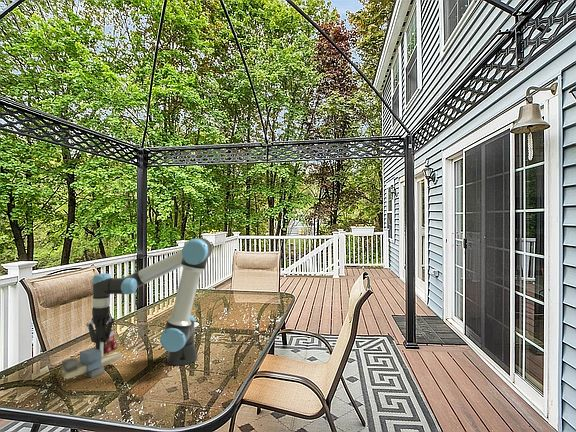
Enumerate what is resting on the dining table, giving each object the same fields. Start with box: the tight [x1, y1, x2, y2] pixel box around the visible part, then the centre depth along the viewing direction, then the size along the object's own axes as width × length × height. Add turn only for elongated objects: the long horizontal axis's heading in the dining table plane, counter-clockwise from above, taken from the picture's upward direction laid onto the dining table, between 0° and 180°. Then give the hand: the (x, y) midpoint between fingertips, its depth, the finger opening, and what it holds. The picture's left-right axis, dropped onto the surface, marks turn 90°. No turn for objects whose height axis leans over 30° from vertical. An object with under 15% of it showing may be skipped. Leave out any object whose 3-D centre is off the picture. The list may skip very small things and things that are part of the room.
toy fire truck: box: [103, 329, 118, 354], centre depth 196 cm, size 7×12×10 cm, turn 172°
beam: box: [61, 351, 123, 380], centre depth 166 cm, size 7×26×10 cm, turn 149°
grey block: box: [79, 347, 101, 371], centre depth 165 cm, size 7×6×7 cm
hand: (100, 355), depth 169 cm, fingers closed
